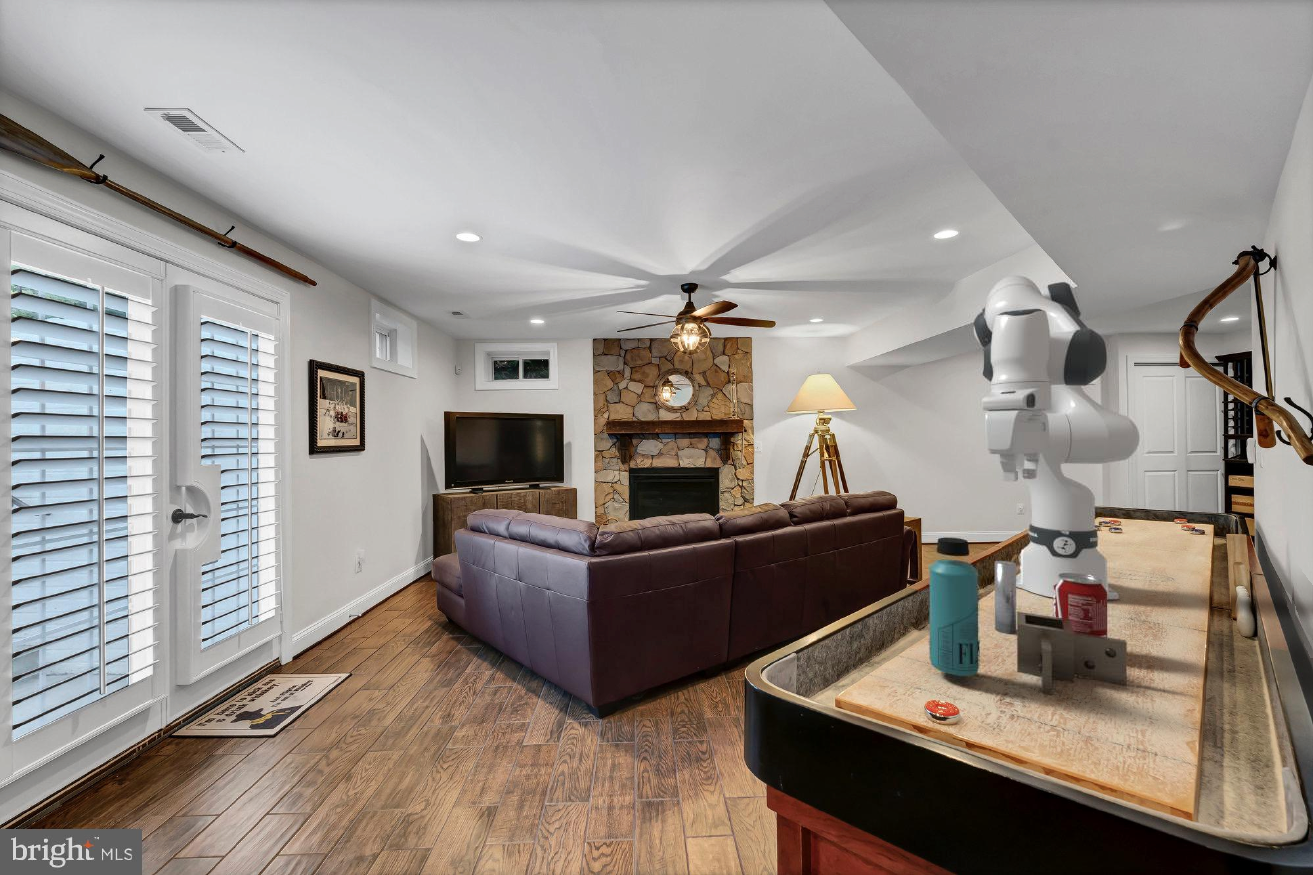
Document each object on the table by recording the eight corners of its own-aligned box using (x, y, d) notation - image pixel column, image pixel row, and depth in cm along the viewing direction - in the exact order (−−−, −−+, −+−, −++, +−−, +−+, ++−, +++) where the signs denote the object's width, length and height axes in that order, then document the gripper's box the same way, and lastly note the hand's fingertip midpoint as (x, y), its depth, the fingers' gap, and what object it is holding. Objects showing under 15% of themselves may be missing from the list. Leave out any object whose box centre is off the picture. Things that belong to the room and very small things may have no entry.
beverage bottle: (958, 690, 74) (958, 545, 74) (917, 671, 80) (917, 536, 80) (990, 681, 77) (990, 540, 76) (948, 663, 83) (948, 532, 82)
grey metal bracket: (1017, 655, 85) (1017, 611, 85) (1122, 675, 78) (1122, 627, 78) (1017, 687, 75) (1017, 637, 74) (1138, 713, 68) (1138, 657, 68)
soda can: (1117, 662, 82) (1117, 584, 82) (1067, 659, 84) (1067, 582, 83) (1091, 645, 89) (1091, 572, 89) (1045, 642, 90) (1045, 571, 90)
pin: (995, 626, 98) (995, 560, 98) (1016, 629, 96) (1016, 562, 96) (994, 631, 95) (994, 563, 95) (1016, 635, 94) (1016, 566, 93)
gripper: (1020, 404, 104) (1020, 476, 104) (977, 399, 91) (977, 481, 91) (1060, 402, 99) (1060, 478, 99) (1021, 397, 86) (1021, 484, 86)
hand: (1020, 480), depth 95 cm, fingers open, 8 cm apart
